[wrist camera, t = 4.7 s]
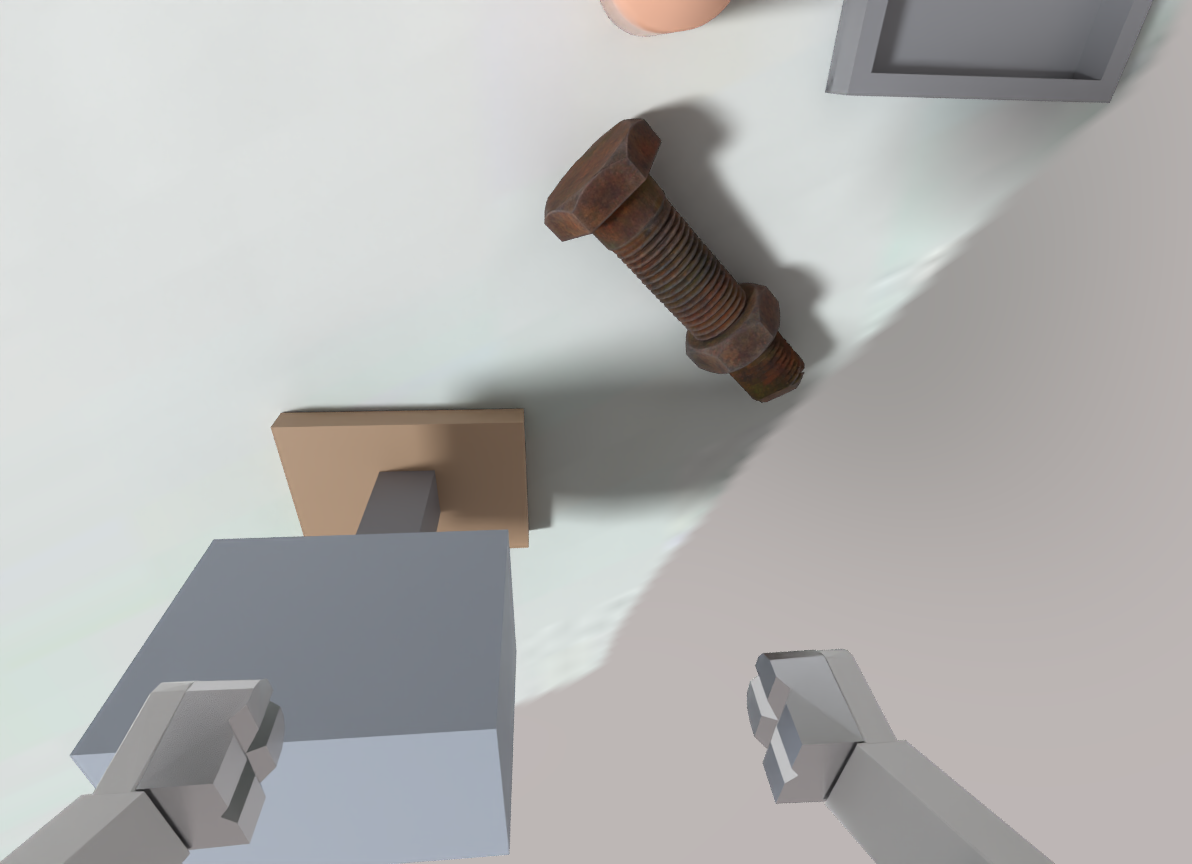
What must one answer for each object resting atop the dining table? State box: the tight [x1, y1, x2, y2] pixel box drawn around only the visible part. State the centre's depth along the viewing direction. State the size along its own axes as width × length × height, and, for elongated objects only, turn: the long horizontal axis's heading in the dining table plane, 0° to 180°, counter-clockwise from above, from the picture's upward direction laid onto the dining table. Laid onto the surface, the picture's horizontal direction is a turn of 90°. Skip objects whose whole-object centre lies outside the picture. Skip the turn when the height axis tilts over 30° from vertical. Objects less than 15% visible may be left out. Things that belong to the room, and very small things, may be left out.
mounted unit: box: [70, 409, 529, 864], centre depth 28 cm, size 10×13×18 cm
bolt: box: [544, 119, 804, 402], centre depth 28 cm, size 6×5×15 cm
